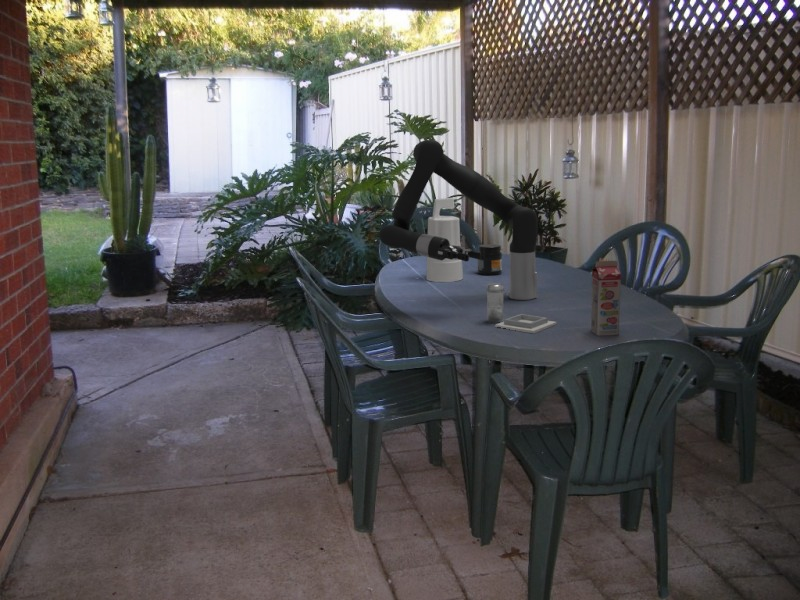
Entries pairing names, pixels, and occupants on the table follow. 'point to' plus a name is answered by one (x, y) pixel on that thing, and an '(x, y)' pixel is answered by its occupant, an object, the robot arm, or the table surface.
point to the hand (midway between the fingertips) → (474, 257)
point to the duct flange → (526, 323)
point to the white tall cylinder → (451, 231)
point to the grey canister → (495, 302)
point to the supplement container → (490, 259)
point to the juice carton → (605, 298)
